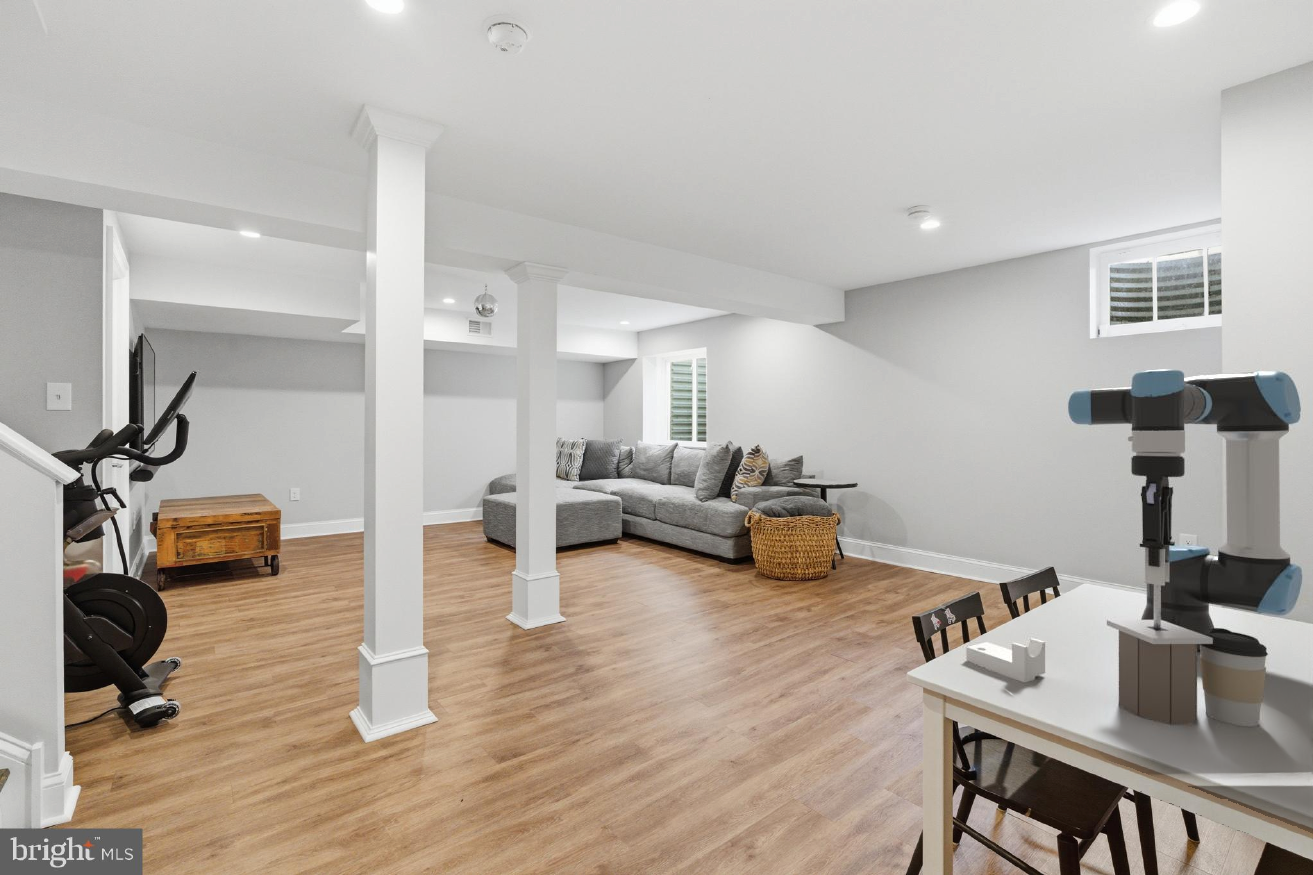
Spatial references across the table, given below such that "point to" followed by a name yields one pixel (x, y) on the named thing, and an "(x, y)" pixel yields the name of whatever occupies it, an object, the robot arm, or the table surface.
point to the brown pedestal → (1158, 670)
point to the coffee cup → (1233, 676)
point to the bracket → (1010, 659)
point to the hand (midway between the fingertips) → (1157, 581)
